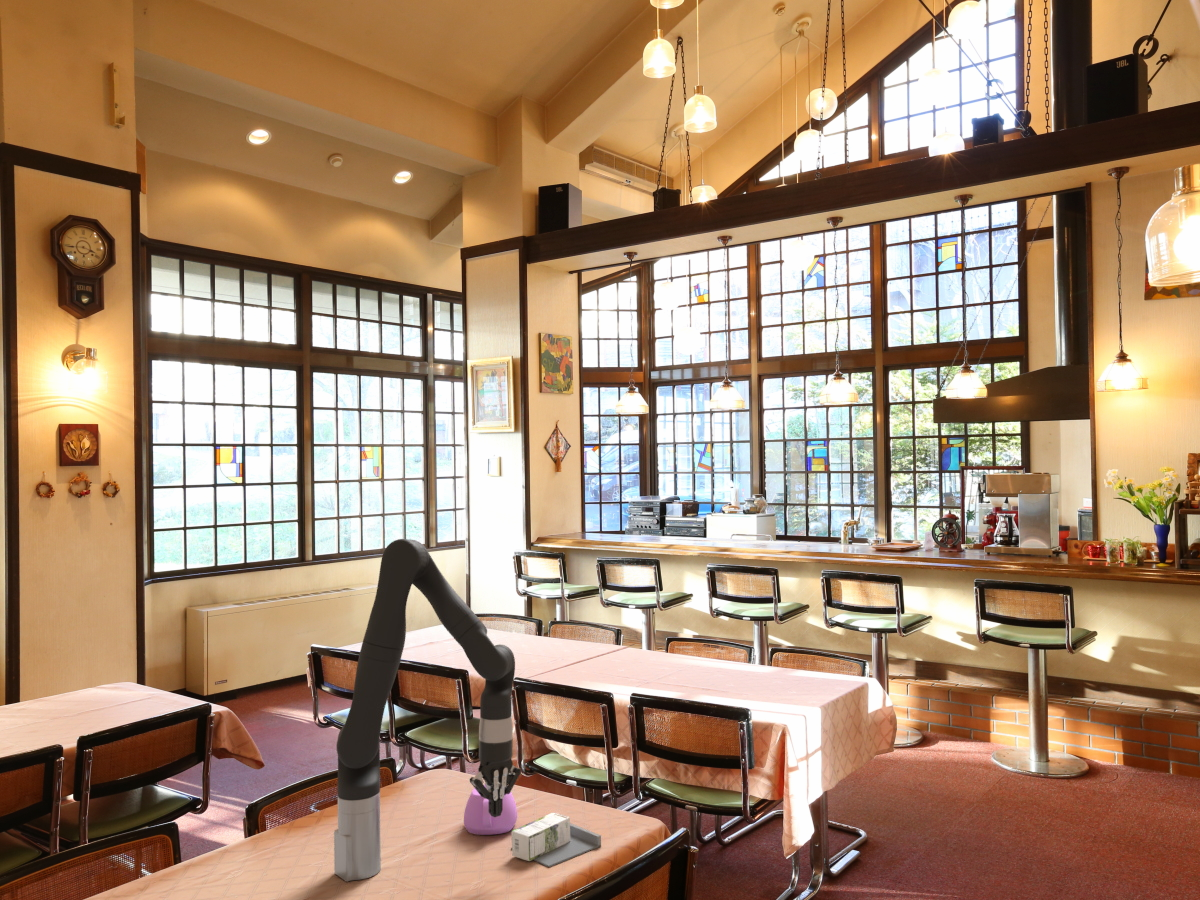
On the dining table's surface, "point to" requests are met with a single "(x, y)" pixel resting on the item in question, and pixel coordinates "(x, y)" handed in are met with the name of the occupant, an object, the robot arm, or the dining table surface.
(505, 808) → the teapot
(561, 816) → the syrup box
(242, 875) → the dining table surface
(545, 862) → the board with raised edge
